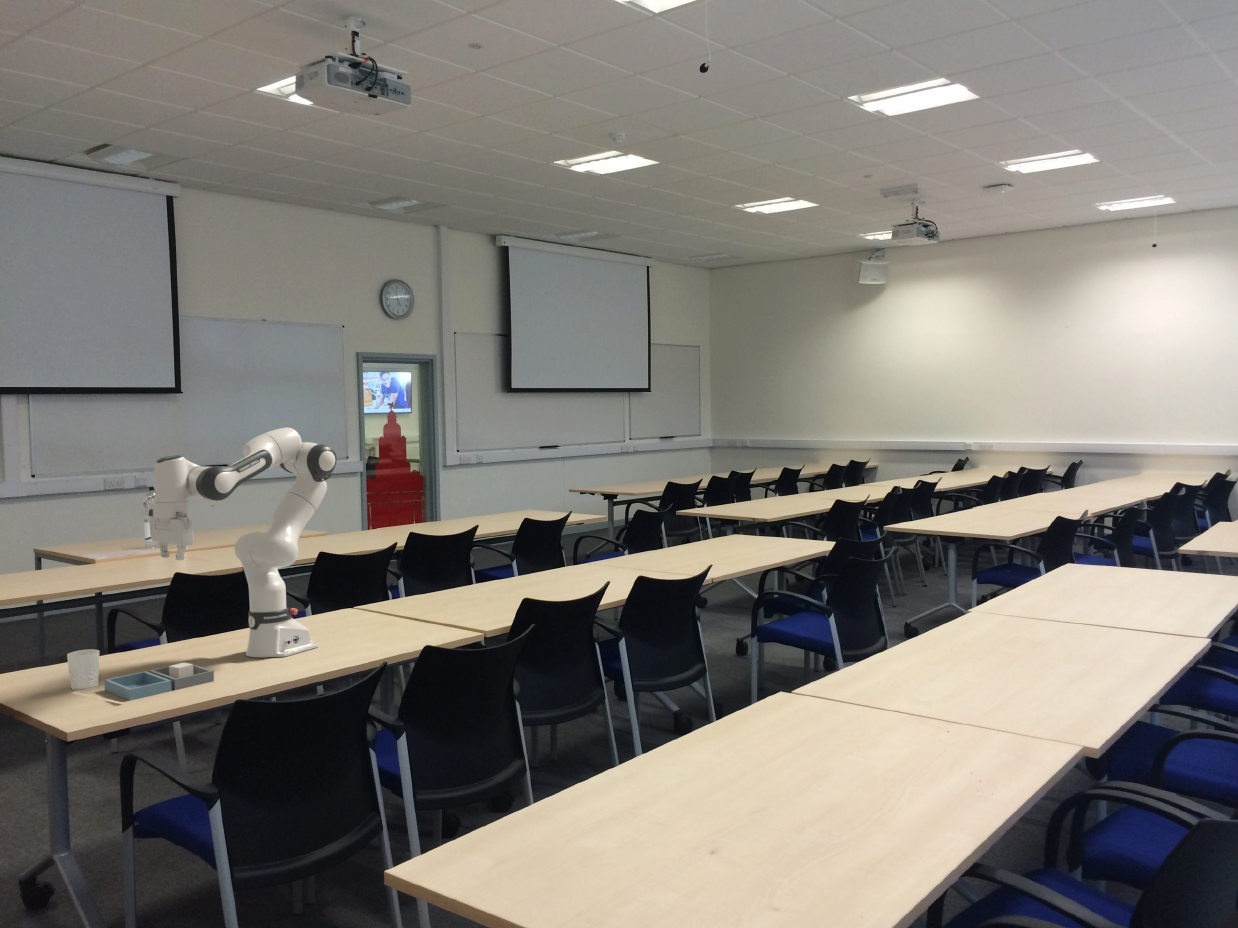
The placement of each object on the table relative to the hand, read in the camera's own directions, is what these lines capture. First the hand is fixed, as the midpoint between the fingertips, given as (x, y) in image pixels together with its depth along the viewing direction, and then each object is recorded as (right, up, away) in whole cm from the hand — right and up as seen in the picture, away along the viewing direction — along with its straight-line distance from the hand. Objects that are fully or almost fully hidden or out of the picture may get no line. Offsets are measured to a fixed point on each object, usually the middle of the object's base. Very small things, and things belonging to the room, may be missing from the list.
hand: (172, 558), depth 266 cm
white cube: (+5, -35, -4) cm, 35 cm away
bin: (-3, -36, -13) cm, 38 cm away
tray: (+5, -35, -4) cm, 36 cm away
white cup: (-21, -36, -7) cm, 42 cm away
